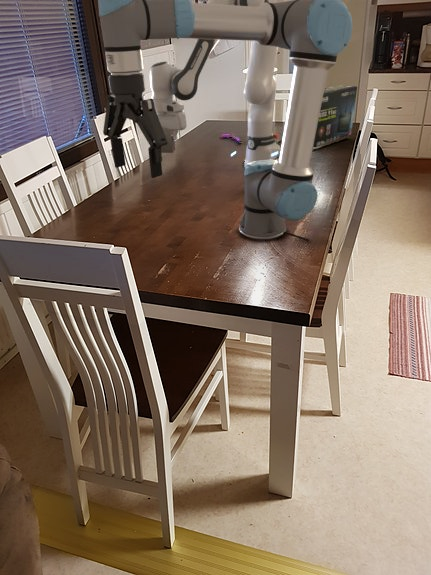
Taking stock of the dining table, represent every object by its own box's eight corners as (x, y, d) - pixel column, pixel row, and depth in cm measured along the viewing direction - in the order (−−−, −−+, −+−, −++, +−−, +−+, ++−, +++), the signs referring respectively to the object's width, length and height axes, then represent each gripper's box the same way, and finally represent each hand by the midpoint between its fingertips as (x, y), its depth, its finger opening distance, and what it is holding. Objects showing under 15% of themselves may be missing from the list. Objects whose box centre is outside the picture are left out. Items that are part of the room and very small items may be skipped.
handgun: (221, 137, 264) (220, 133, 263) (234, 136, 265) (233, 132, 264) (228, 145, 247) (228, 142, 246) (242, 144, 248) (242, 140, 247)
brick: (162, 149, 203) (159, 125, 198) (175, 149, 203) (173, 125, 197) (159, 152, 199) (156, 128, 194) (172, 152, 198) (170, 128, 193)
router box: (314, 151, 231) (318, 94, 217) (296, 148, 237) (299, 92, 224) (352, 138, 251) (358, 85, 238) (335, 135, 258) (340, 83, 245)
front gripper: (78, 72, 103) (94, 165, 114) (150, 78, 88) (161, 185, 99) (105, 68, 108) (118, 159, 118) (178, 73, 93) (185, 176, 104)
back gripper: (138, 105, 194) (143, 138, 201) (178, 108, 184) (181, 143, 191) (148, 102, 198) (151, 135, 205) (187, 105, 189) (189, 139, 196)
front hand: (138, 171), depth 109 cm, fingers open, 13 cm apart
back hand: (166, 139), depth 198 cm, fingers closed on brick, 7 cm apart
